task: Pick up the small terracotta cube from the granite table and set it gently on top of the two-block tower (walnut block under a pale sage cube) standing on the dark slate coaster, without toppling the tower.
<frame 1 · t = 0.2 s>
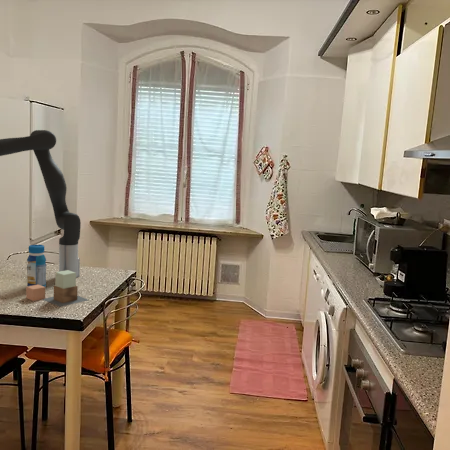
beverage bottle: (36, 288, 216), on the table
walnut block: (65, 299, 200), resting on slate mat, touching sage block
sage block: (65, 286, 199), point 6 cm above the table, touching walnut block
slate mat: (65, 300, 200), on the table
terracotta cube: (35, 299, 199), on the table
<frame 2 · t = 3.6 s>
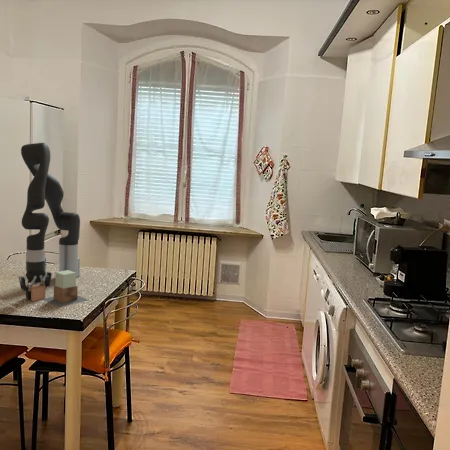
hand: (35, 297, 199), 1 cm above the table, fingers closed on terracotta cube, 5 cm apart
terracotta cube: (35, 299, 199), on the table, touching gripper
everything else where it was.
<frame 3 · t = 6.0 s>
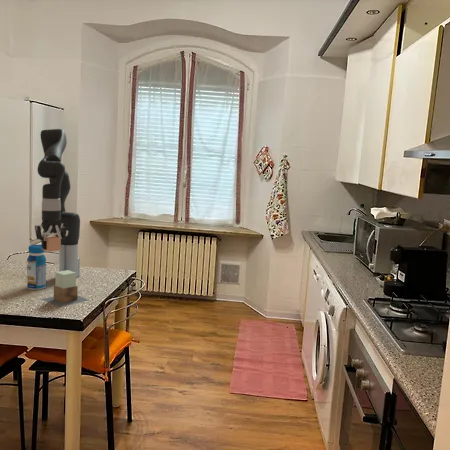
hand: (51, 248, 196), 23 cm above the table, fingers closed on terracotta cube, 5 cm apart
terracotta cube: (51, 249, 196), point 22 cm above the table, touching gripper
everything else where it was.
when the fingers open (14 cm above the table, at t = 8.4 s): terracotta cube drops 1 cm, resting on sage block.
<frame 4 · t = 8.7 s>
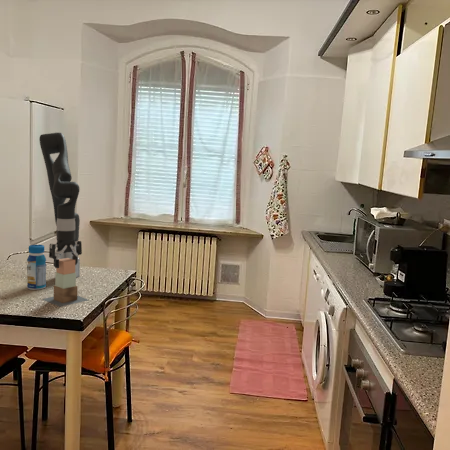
hand: (65, 266, 198), 15 cm above the table, fingers open, 8 cm apart
sage block: (65, 286, 199), point 6 cm above the table, touching terracotta cube, walnut block
terracotta cube: (65, 272, 198), point 12 cm above the table, touching sage block
everything else where it was.
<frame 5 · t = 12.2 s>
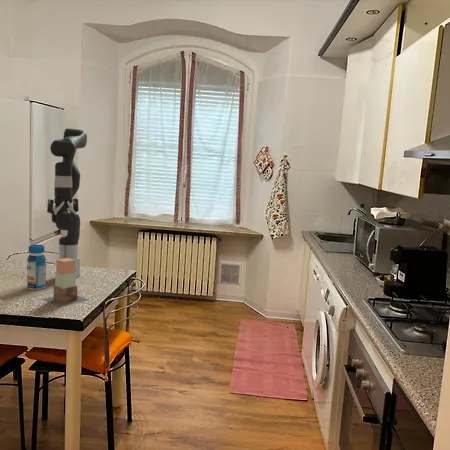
hand: (63, 222, 209), 32 cm above the table, fingers open, 8 cm apart
nothing on the table moved.
at the end: terracotta cube 0.1 cm off-centre on the walnut block, point 12.0 cm above the walnut block's base; sage block tilted 0°; walnut block moved 0.0 cm from its start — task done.
